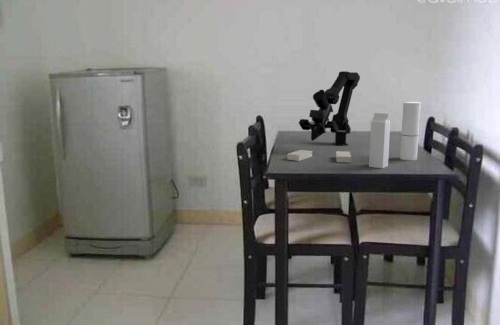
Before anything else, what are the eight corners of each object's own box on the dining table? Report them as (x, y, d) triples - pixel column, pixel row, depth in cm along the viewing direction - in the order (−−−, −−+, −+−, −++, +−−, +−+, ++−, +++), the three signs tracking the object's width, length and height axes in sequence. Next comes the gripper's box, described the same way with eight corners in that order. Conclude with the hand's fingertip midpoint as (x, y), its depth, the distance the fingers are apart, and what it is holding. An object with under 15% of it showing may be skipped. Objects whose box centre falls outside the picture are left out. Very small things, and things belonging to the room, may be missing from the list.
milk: (374, 164, 198) (376, 112, 194) (388, 166, 195) (391, 113, 190) (368, 166, 194) (371, 113, 189) (382, 168, 190) (385, 114, 185)
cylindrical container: (417, 157, 210) (421, 101, 205) (416, 161, 204) (420, 103, 198) (401, 156, 213) (404, 101, 208) (399, 159, 207) (402, 102, 201)
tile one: (336, 151, 213) (336, 156, 201) (349, 151, 212) (351, 156, 201) (336, 156, 214) (336, 162, 202) (349, 157, 213) (350, 162, 201)
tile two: (300, 149, 217) (287, 153, 208) (312, 151, 214) (299, 155, 204) (300, 155, 218) (287, 159, 209) (312, 156, 215) (298, 161, 205)
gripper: (300, 102, 225) (288, 128, 219) (336, 104, 214) (324, 131, 208) (308, 116, 233) (297, 142, 227) (343, 119, 222) (332, 145, 216)
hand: (312, 140), depth 219 cm, fingers closed
